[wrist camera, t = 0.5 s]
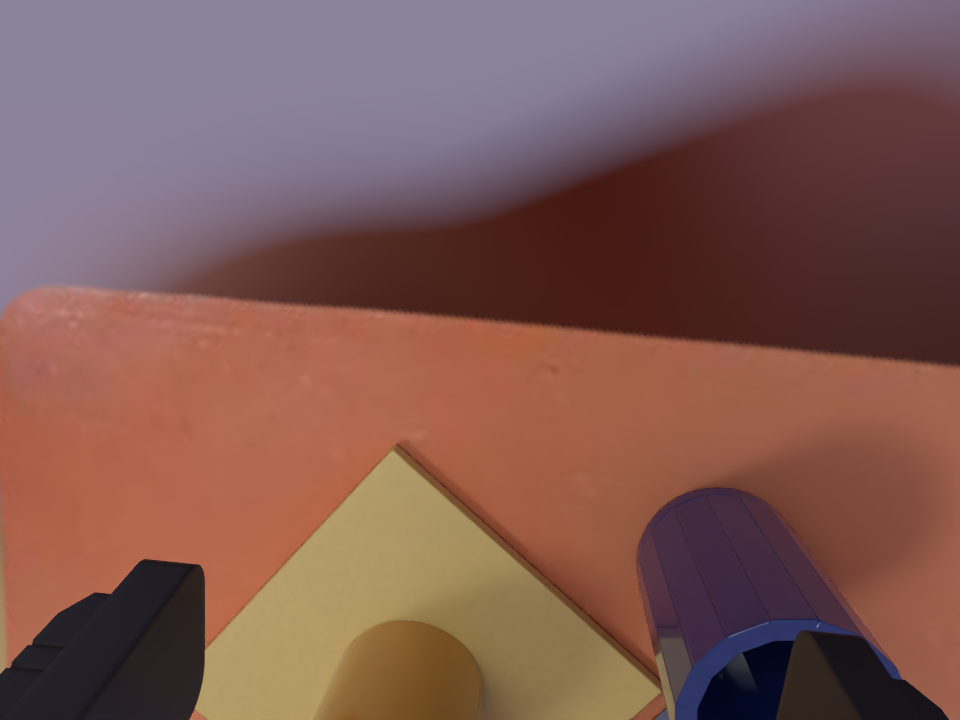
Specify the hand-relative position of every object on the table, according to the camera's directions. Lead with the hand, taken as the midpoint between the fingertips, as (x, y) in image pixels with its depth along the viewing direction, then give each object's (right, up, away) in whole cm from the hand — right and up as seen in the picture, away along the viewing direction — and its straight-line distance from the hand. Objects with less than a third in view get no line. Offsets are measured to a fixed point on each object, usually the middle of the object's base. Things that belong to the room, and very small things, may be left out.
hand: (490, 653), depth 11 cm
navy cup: (+9, -4, +20) cm, 22 cm away
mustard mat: (-3, -9, +22) cm, 24 cm away
